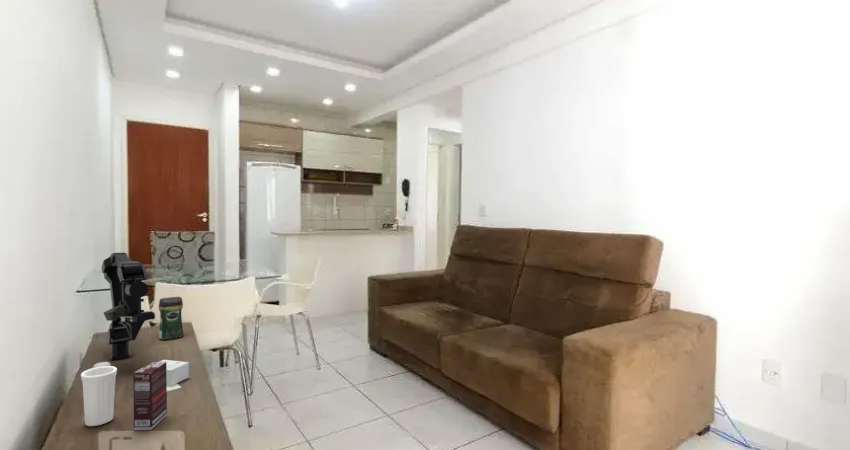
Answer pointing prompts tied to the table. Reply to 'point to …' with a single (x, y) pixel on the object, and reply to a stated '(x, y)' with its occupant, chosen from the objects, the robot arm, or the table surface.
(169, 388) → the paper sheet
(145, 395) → the supplement box
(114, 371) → the cup
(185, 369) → the small box
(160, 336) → the coffee jar
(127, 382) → the table surface
